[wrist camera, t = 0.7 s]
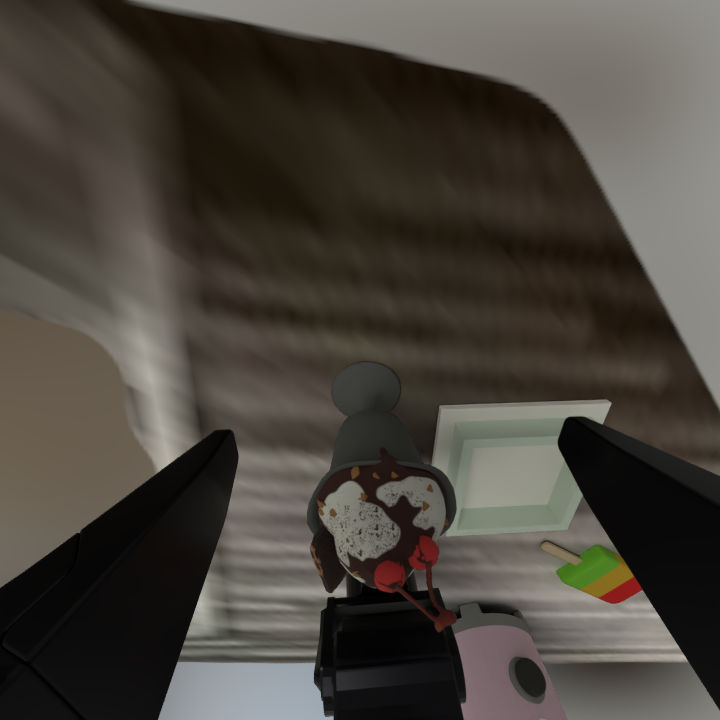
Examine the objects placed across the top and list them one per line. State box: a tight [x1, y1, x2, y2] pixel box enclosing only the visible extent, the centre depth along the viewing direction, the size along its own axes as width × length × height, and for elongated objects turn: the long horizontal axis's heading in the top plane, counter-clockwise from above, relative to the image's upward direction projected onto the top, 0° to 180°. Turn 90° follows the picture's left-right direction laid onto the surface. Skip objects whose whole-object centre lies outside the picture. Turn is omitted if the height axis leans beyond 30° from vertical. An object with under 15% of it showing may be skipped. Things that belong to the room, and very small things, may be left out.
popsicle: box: [541, 542, 642, 604], centre depth 35 cm, size 6×15×2 cm, turn 55°
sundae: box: [307, 362, 457, 632], centre depth 17 cm, size 7×7×15 cm
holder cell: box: [431, 399, 612, 537], centre depth 26 cm, size 13×13×2 cm
